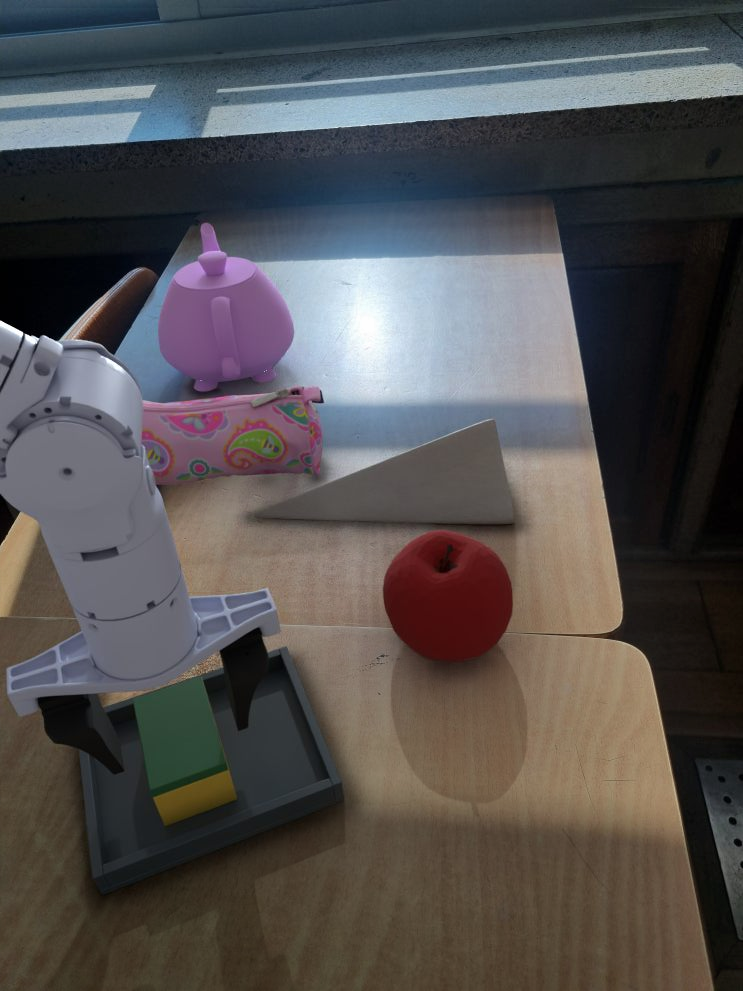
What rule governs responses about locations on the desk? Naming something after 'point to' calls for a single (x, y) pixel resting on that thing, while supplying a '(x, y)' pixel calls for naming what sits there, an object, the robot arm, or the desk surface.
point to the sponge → (183, 751)
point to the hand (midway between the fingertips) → (179, 738)
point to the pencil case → (234, 436)
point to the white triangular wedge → (417, 486)
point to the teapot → (223, 319)
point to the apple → (448, 596)
